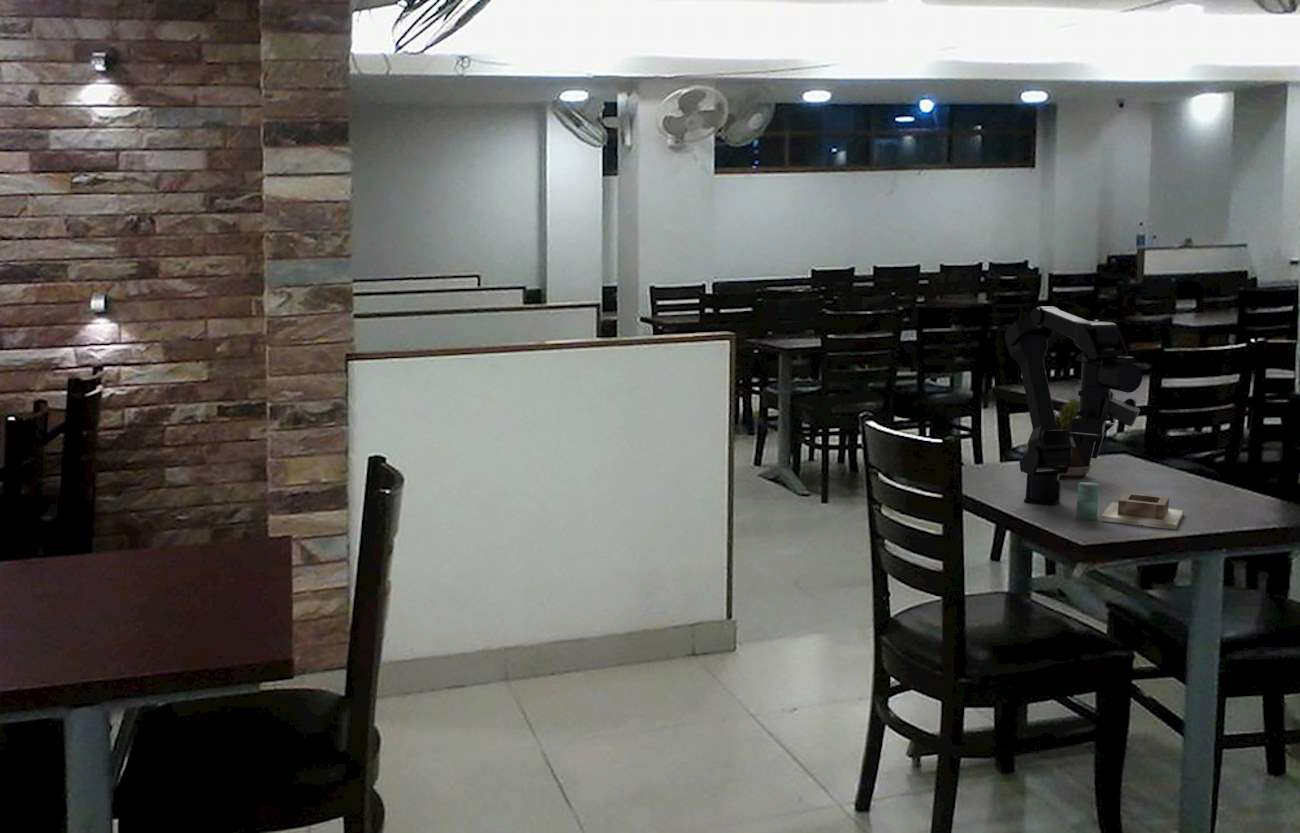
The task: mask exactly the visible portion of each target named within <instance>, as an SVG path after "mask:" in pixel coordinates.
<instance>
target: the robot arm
mask: <svg viewBox="0 0 1300 833" xmlns="http://www.w3.org/2000/svg"><path fill="white" fill-rule="evenodd" d="M1055 332H1056V333H1059V334H1061V335H1063V336H1066V337H1068V338H1070V339H1072V340H1073V344H1074V345H1075V346H1076V347H1078V348H1079V349H1080V350H1082V352H1081V353H1079V354H1078V355H1077V356H1076V357H1075V359H1076V361H1080V362H1081V374H1080V389H1079V390H1078V392H1077V396H1078V397H1079V398H1080V399H1079V410H1078V411H1077V417H1075V418H1074V419H1073V420H1072V421H1070V423H1069V432H1070V434H1071V435H1072V438H1073V440H1074V442H1075V445H1076V447H1077V450H1078V453H1079V455H1080V458H1081V461H1082V464H1083V466H1087V467H1088V466H1089V465H1091V461H1092V459H1094V460H1097V458H1098V456H1099V452H1100V449H1101V445H1102V443H1103V439H1104V437H1105V433H1106V432H1108V431H1109V430H1110V429H1111V428H1112V427H1113V426H1114V425H1115V422H1116V421H1119V422H1120V423H1123V424H1124V425H1125V426H1128V427H1132V426H1133V425H1135V422H1136V420H1137V418H1138V416H1139V414H1140V412H1141V409H1140V407H1137V400H1135V399H1133V398H1131V397H1128V398H1127V399H1125V400H1124V401H1122V399H1116V398H1114V391H1118V392H1122V393H1127V394H1128V393H1132V392H1135V391H1136V390H1138V389H1139V388H1140V387H1141V385H1142V382H1143V373H1142V370H1141V368H1140V367H1139V366H1138V365H1137V364H1136V363H1135V362H1136V361H1135V357H1134V356H1130V354H1129V352H1128V351H1129V349H1128V347H1127V346H1126V344H1125V341H1124V339H1123V336H1122V334H1121V331H1120V329H1119V326H1118V325H1117V324H1116V323H1114V322H1111V321H1093V320H1088V319H1085V318H1082V317H1080V316H1079V317H1078V316H1076V315H1074V314H1071V313H1069V312H1066V311H1063V310H1061V309H1060V308H1058V307H1055V306H1037V307H1034V308H1033V309H1032V310H1031V311H1030V312H1029V313H1027V314H1026V315H1023V316H1022V317H1021V318H1018V319H1017V320H1015V321H1013V323H1012V324H1011V325H1010V326H1009V327H1008V328H1007V330H1006V331H1005V334H1004V341H1005V343H1006V348H1007V350H1008V354H1009V355H1010V357H1011V358H1012V359H1013V360H1014V361H1015V362H1016V364H1018V366H1019V368H1020V369H1019V370H1020V373H1021V378H1022V382H1023V389H1024V393H1025V397H1026V398H1025V399H1026V401H1027V402H1026V403H1027V407H1028V412H1029V418H1030V421H1031V422H1030V423H1031V427H1032V430H1031V433H1030V435H1029V439H1028V441H1027V448H1028V449H1027V452H1026V453H1025V454H1024V455H1023V456H1022V458H1021V459H1020V460H1019V467H1020V468H1019V469H1020V472H1022V473H1024V474H1026V487H1025V488H1026V490H1025V497H1024V498H1023V502H1027V503H1028V502H1029V503H1035V504H1036V503H1037V504H1045V505H1052V506H1053V505H1056V504H1057V503H1058V502H1059V501H1060V500H1061V499H1062V487H1063V486H1062V485H1063V479H1060V473H1064V474H1066V473H1067V471H1068V468H1069V465H1070V461H1071V458H1072V450H1071V448H1073V447H1072V445H1071V442H1070V437H1069V432H1068V431H1067V430H1061V429H1060V428H1059V427H1058V425H1057V423H1056V419H1055V414H1056V413H1055V410H1054V405H1053V400H1052V397H1051V396H1052V395H1051V391H1050V386H1049V382H1048V378H1047V372H1046V367H1045V363H1044V359H1045V357H1046V354H1047V352H1048V349H1049V345H1048V341H1049V340H1050V339H1051V338H1052V337H1053V336H1054V335H1055ZM1054 413H1055V414H1054ZM1107 421H1108V423H1107ZM1109 422H1110V423H1109Z"/></svg>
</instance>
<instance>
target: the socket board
mask: <svg viewBox="0 0 1300 833" xmlns="http://www.w3.org/2000/svg"><path fill="white" fill-rule="evenodd" d="M1169 505H1170V496H1166V495H1165V496H1162V495H1155V494H1154V495H1153V494H1145V493H1133V492H1128V491H1127V492H1126V491H1125V492H1124V493H1123V494H1122V495H1121V497H1120V498H1119V499H1118V502H1115V501H1114V502H1113V501H1112V502H1111V503H1110V504H1109V506H1107V508H1106V509H1105V511H1104V512H1103V514H1102V515H1101V519H1100V520H1101V521H1102V522H1108V523H1117V524H1125V525H1135V526H1141V525H1143V526H1142V527H1150V528H1152V527H1153V528H1160V529H1166V530H1167V529H1168V530H1177V528H1178V526H1179V524H1180V523H1181V520H1182V518H1183V517H1184V512H1185V511H1184V509H1175V508H1170V507H1169Z"/></svg>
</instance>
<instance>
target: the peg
mask: <svg viewBox="0 0 1300 833" xmlns="http://www.w3.org/2000/svg"><path fill="white" fill-rule="evenodd" d="M1077 487H1078V488H1077V498H1076V499H1077V500H1076V513H1075V515H1076V516H1075V517H1076V518H1075V519H1079V520H1082V521H1096V520H1097V519H1098V508H1099V493H1100V484H1099V483H1096V482H1089V481H1088V482H1087V481H1081V482H1078V484H1077Z"/></svg>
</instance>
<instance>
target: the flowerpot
mask: <svg viewBox="0 0 1300 833" xmlns="http://www.w3.org/2000/svg"><path fill="white" fill-rule="evenodd" d="M1076 396H1077V394H1074V396H1073V395H1071V396H1070V398H1069V401H1067V402H1064V403H1063V402H1062V403H1061V404H1062V405H1061V407H1060V410H1059V413H1057V410H1054V414H1055V419H1056V423H1057V425H1058V427H1059V428H1060V429H1061V430H1067V431H1068V432H1069V423H1070V421H1072V420H1073V419H1074V418H1075V417H1077V411H1078V410H1079V401H1080V397H1076ZM1069 437H1070V442H1071V445H1072V447H1073V448H1071V450H1072V458H1071V461H1070V465H1069V468H1068V471H1067V473H1066V474H1064V473H1060V479H1059V480H1072V481H1075V480H1083V479H1084V478H1086V476H1087V474H1089V472H1090V470H1091V466H1092V465H1091V464H1090V465H1089V466H1088V467H1087V466H1083V464H1082V461H1081V458H1080V455H1079V453H1078V450H1077V447H1076V445H1075V442H1074V440H1073V438H1072V435H1071V434H1070V432H1069Z"/></svg>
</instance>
